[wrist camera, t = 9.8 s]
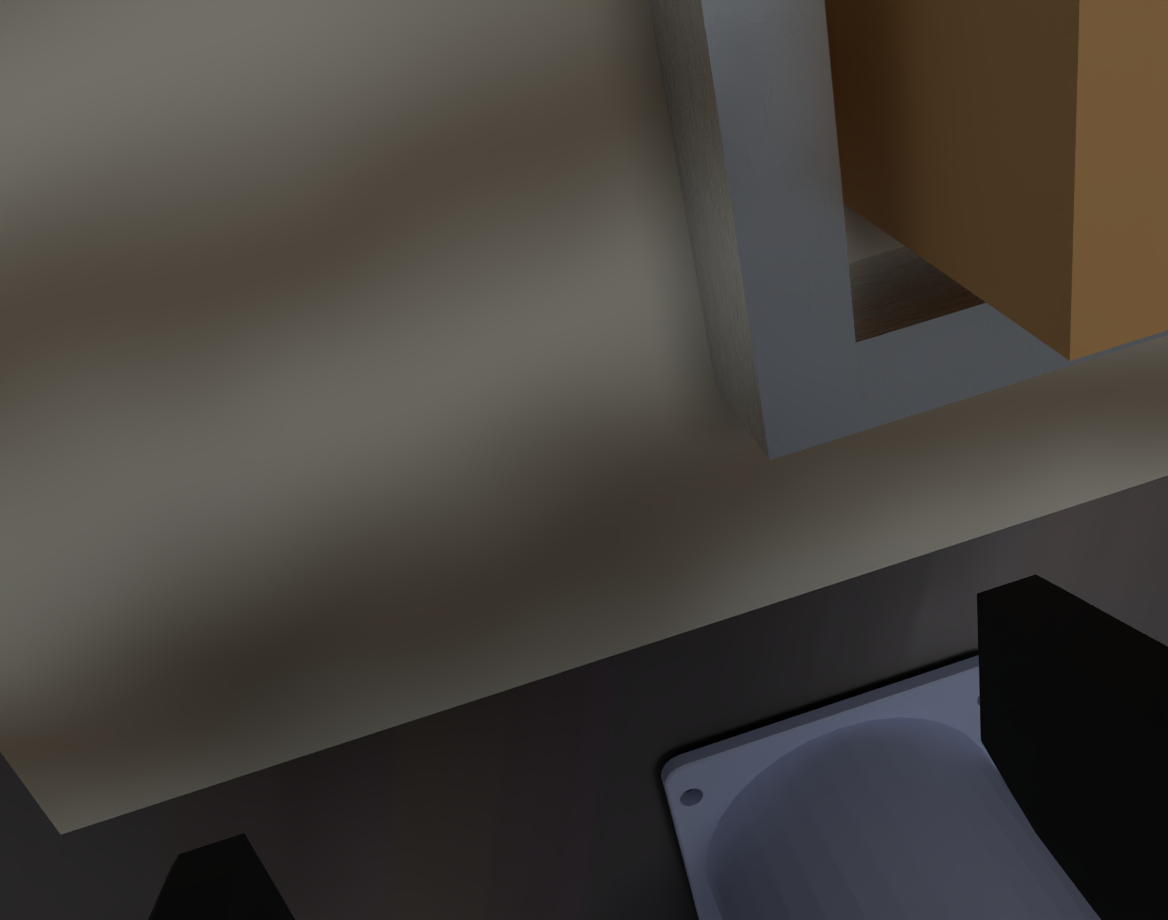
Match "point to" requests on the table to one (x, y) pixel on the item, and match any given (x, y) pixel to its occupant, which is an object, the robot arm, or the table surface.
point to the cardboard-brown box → (1016, 152)
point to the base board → (403, 386)
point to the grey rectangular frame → (808, 244)
